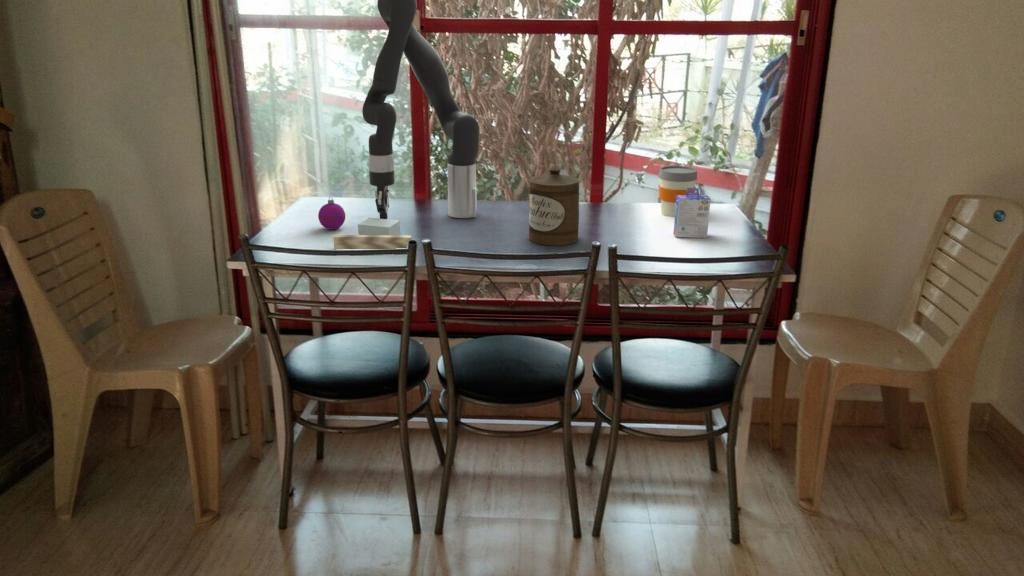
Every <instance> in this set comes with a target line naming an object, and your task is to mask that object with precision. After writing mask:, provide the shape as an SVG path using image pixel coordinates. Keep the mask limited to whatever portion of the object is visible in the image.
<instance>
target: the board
mask: <svg viewBox="0 0 1024 576" xmlns="http://www.w3.org/2000/svg"><path fill="white" fill-rule="evenodd" d="M332 239H333V250H334V249H396V248H407V246H408V242H409V241H410V240H412V241H413V236H412V235H404V234H403V235H402V234H401V235H358V234H334V235H333V238H332Z"/></svg>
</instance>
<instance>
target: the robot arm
mask: <svg viewBox="0 0 1024 576" xmlns="http://www.w3.org/2000/svg"><path fill="white" fill-rule="evenodd" d="M377 10H378V12H379V13H378V14H379V15H380V17H381V19H382V20H383V22H384V23H385V24H386V26H387V27H388V32H387V35H386V39H385V41H384V44H383V45H382V48H381V50H380V52H379V54H378V56H377V59H376V62H375V66H374V71H373V77H372V84H371V86H370V89H369V90H368V92H367V95H366V97H365V100H364V102H363V106H362V109H361V110H362V111H361V112H362V117H363V120H364V121H365V123H367V124H369V125H371V126H376V131H375V133H373V134H370V135H369V137H368V173H369V184H370V186H373V187H376V190H375V191H374V192H375V193H374V195H375V196H374V197H375V205H376V209H377V213H379V219H388V218H389V217H388V212H389V208H390V194H391V189H389V187H390V186H393V185H394V184H395V162H394V150H393V149H394V148H393V139H394V135H395V130H396V126H397V125H396V124H397V120H398V119H397V118H398V117H397V112H396V109H395V107H394V105H392V103H389V102H385V101H386V100H387V97H388V96H391V95H394V93H395V92H396V90H397V85H398V77H399V72H400V66H401V62H402V57H403V55H404V57H405V58H406V60H407V61H408V64H409V65H410V68H411V71H413V73H414V76H415V77H416V79H417V81H418V83H419V85H420V86H421V88H422V89H423V91H424V93H425V95H426V97H427V98H428V100H429V102H430V103H431V106H432V107H433V109H434V110H433V111H434V112H435V114H436V116H437V118H438V121H439V124H440V126H441V128H442V131H443V133H444V135H445V136H446V137H447V138H448V139H449V140H451V141H452V150H451V152H449V153H448V155H447V156H446V158H447V159H446V160H447V161H446V162H447V207H448V208H447V212H448V213H447V214H448V217H450V218H455V219H469V218H476V217H477V208H478V207H477V205H478V203H477V202H478V201H477V198H478V197H477V193H478V191H477V190H478V189H477V158H478V155H479V145H480V144H479V143H480V126H479V122H478V120H477V119H476V117H475V116H474V115H471V114H468V113H464V112H463V111H462V110H461V109H460V107H459V105H458V104H457V102H456V100H455V99H454V97H453V95H452V91H451V85H450V78H449V73H448V71H447V68H446V67H445V65H444V63H443V60H442V58H441V56H440V55H439V53H438V52H437V50H436V49H435V48H434V47H433V46H432V44H431V43H429V42H428V40H427V39H426V38H425V37H424V36H423V35H422V34H421V33H420V32H419V30H418V29H417V28H416V26H415V25H414V19H415V17H416V13H417V10H418V2H417V0H377Z"/></svg>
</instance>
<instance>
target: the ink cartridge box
mask: <svg viewBox="0 0 1024 576" xmlns="http://www.w3.org/2000/svg"><path fill="white" fill-rule="evenodd" d="M699 189H700V188H699V187H696V188H687V195H676V205H675V217H674V222H673V223H674V224H673V235H674V237H675V238H693V239H694V238H699V239H701V238H703V239H704V238H705V239H706V238H708V229H709V220H710V219H709V218H710V217H709V216H710V207H711V197H709V196H708V195H707V194H705V195H704V194H700V190H699ZM691 190H695V193H689V191H691Z"/></svg>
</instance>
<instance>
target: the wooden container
mask: <svg viewBox="0 0 1024 576" xmlns="http://www.w3.org/2000/svg"><path fill="white" fill-rule="evenodd" d="M548 172H549V174H539V175H535V176H532V177H530V179H529V207H528V208H529V210H528V239H529V241H531V242H533V243H535V244H539V245H542V244H543V245H544V246H566V245H570V244H574V243H577V241H578V240H579V227H580V226H579V222H580V179H579V178H578V177H576V176H572V175H567V174H561V168H560V167H559V166H557V165H552V166H550V167H549V168H548Z"/></svg>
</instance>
